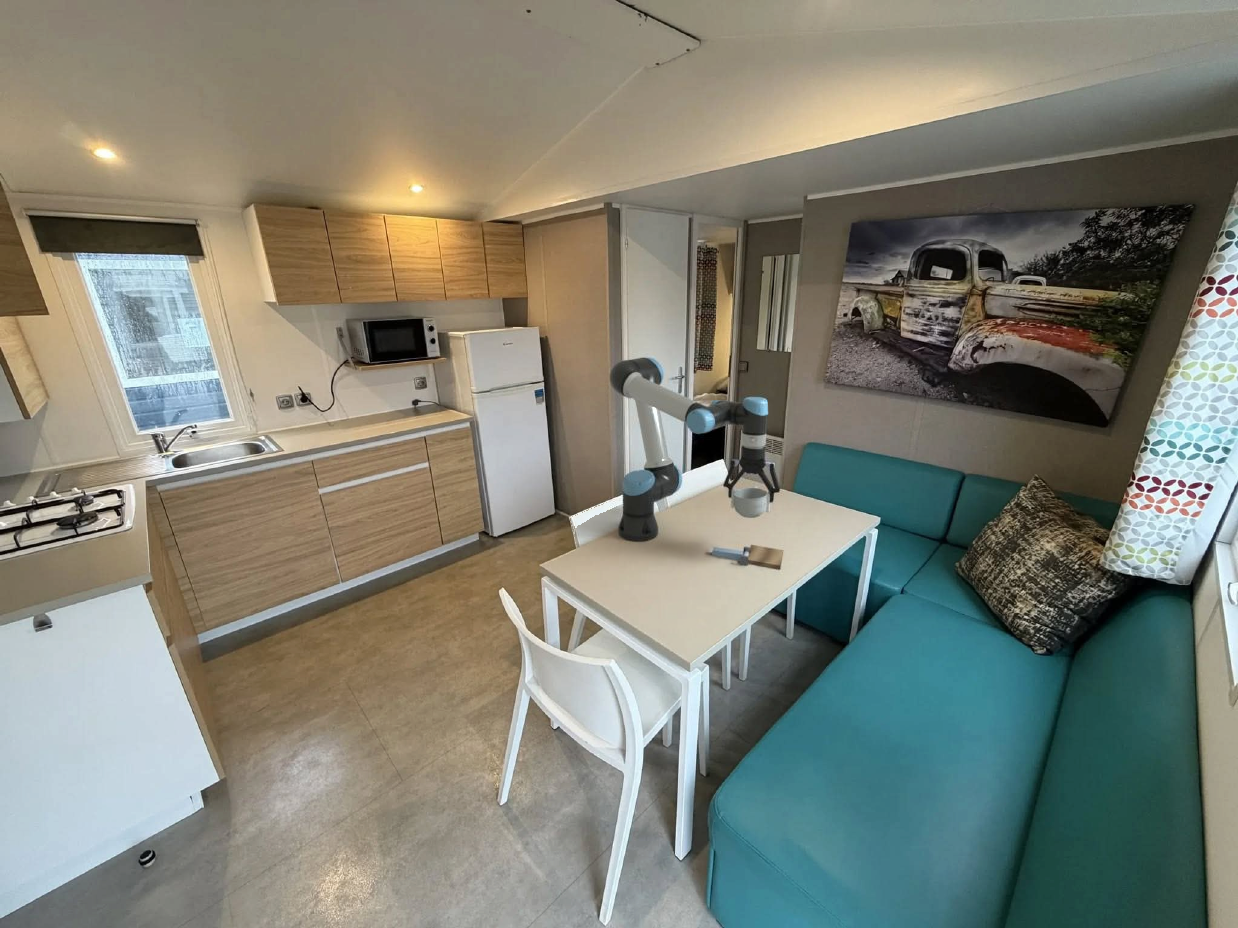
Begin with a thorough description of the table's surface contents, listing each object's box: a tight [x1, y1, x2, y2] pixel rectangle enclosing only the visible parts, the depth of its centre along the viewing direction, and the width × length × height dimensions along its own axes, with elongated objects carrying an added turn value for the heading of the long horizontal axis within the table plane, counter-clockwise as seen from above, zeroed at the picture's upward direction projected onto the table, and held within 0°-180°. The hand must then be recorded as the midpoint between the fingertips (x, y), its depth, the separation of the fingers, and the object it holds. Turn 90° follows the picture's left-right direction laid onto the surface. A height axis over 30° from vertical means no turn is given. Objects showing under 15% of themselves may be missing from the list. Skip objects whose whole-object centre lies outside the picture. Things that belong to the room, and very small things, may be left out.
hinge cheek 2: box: [739, 555, 749, 567], centre depth 160 cm, size 2×1×3 cm, turn 67°
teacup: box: [733, 485, 768, 519], centre depth 161 cm, size 14×11×8 cm
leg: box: [711, 546, 749, 562], centre depth 165 cm, size 12×5×3 cm, turn 68°
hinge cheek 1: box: [742, 546, 751, 555], centre depth 166 cm, size 2×1×3 cm, turn 67°
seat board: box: [748, 544, 784, 570], centre depth 164 cm, size 11×11×1 cm
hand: (750, 508), depth 162 cm, fingers closed on teacup, 11 cm apart
